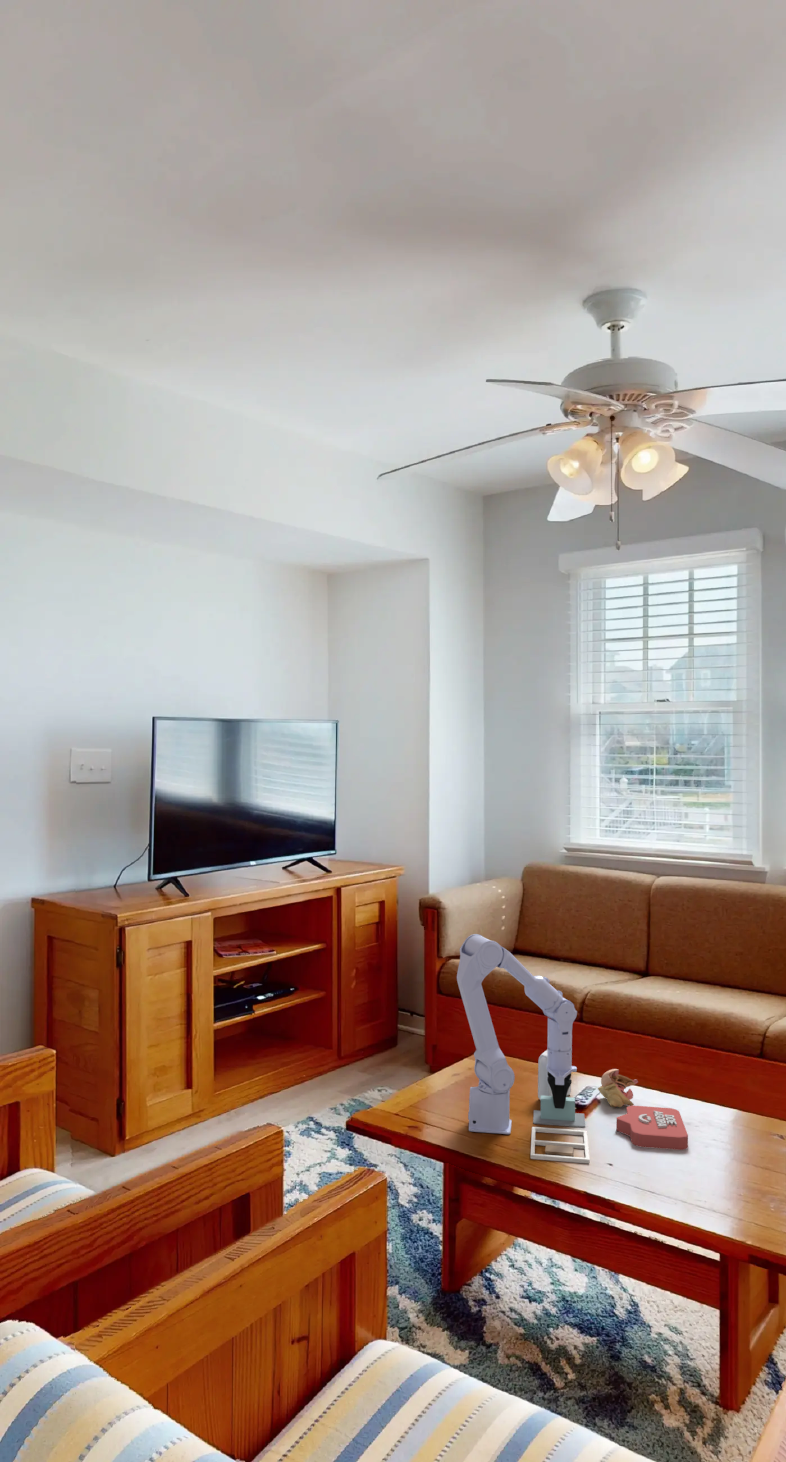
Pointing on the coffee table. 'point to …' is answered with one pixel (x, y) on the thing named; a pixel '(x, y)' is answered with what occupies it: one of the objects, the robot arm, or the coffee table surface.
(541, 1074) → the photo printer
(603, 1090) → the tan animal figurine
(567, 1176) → the coffee table surface
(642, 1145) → the plaque
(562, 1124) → the mat
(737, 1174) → the coffee table surface
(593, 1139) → the coffee table surface
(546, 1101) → the pale teal block
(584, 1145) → the rack
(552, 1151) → the offcut stack
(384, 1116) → the coffee table surface
